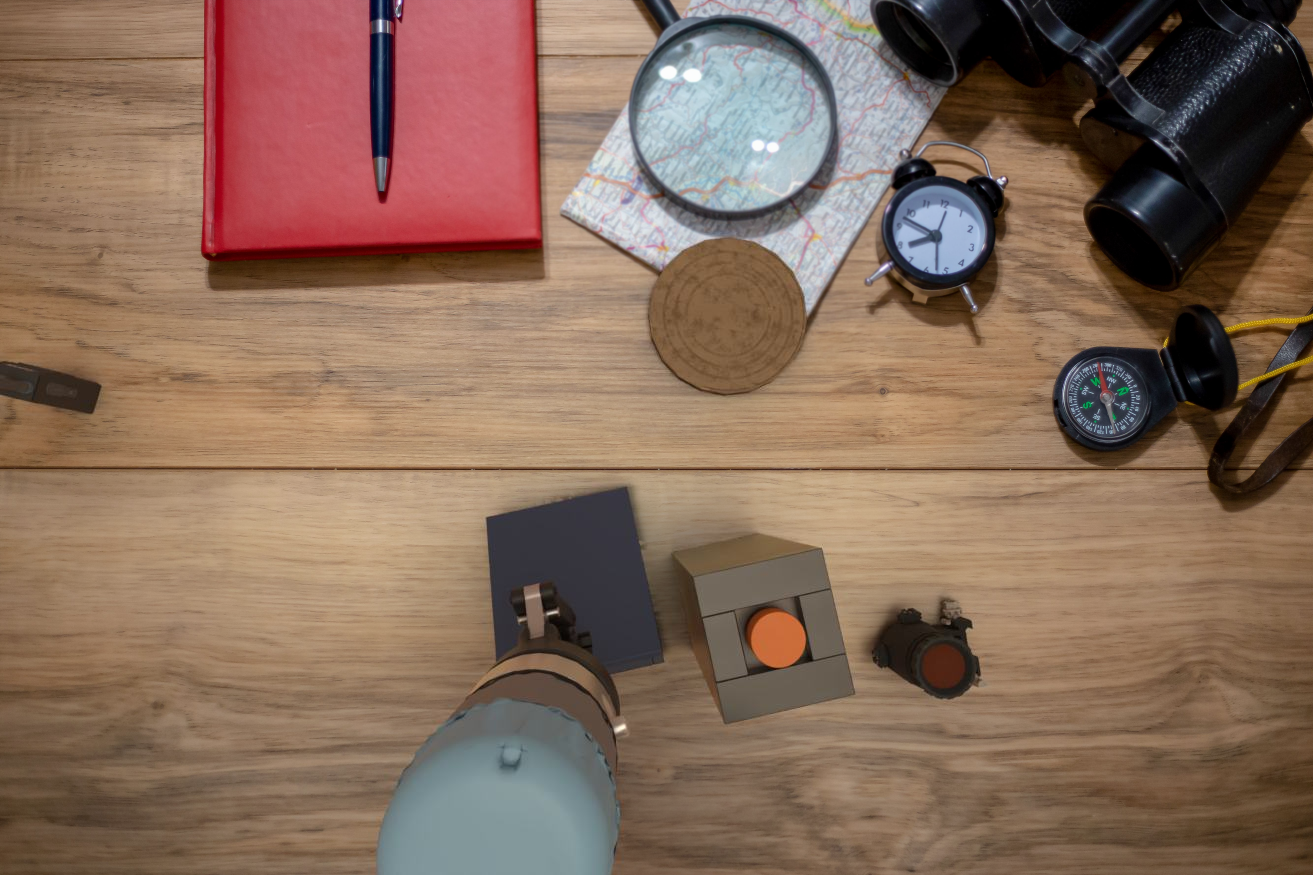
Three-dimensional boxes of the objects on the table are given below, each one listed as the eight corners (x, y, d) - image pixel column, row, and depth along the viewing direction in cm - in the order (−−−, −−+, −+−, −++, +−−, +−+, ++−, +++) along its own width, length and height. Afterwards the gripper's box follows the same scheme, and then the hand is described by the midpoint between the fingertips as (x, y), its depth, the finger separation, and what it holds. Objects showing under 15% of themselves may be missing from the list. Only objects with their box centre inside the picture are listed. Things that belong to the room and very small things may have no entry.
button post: (779, 629, 88) (855, 694, 58) (692, 649, 88) (724, 724, 58) (757, 532, 89) (822, 547, 59) (671, 551, 89) (692, 576, 59)
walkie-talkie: (111, 384, 88) (-40, 349, 68) (101, 416, 88) (-54, 390, 68) (65, 372, 88) (-100, 334, 68) (55, 404, 88) (-114, 375, 68)
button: (804, 654, 59) (811, 661, 57) (752, 666, 59) (757, 673, 57) (792, 602, 59) (799, 606, 57) (740, 613, 59) (745, 618, 57)
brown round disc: (645, 394, 90) (646, 390, 87) (650, 242, 91) (651, 233, 88) (799, 399, 90) (805, 396, 87) (802, 248, 91) (808, 240, 88)
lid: (663, 655, 69) (662, 650, 68) (500, 692, 68) (497, 687, 67) (628, 491, 80) (627, 486, 79) (487, 521, 79) (485, 516, 79)
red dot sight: (1023, 706, 75) (909, 723, 74) (962, 675, 89) (865, 689, 88) (1008, 611, 75) (894, 627, 75) (949, 594, 89) (853, 608, 89)
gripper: (646, 848, 42) (640, 722, 65) (589, 578, 42) (604, 550, 66) (491, 885, 41) (541, 745, 65) (437, 612, 42) (506, 572, 66)
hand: (573, 647), depth 65 cm, fingers closed
